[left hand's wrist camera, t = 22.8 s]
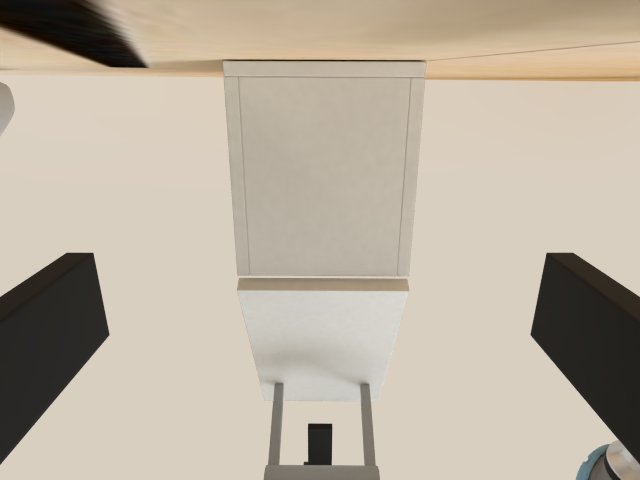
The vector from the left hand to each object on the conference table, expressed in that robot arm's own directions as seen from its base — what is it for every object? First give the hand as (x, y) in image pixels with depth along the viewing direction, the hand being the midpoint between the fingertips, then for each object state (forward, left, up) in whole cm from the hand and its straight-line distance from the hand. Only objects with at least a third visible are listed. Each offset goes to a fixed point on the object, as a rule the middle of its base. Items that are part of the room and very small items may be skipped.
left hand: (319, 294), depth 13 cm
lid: (+12, -8, +12) cm, 19 cm away
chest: (+15, -10, -7) cm, 19 cm away
